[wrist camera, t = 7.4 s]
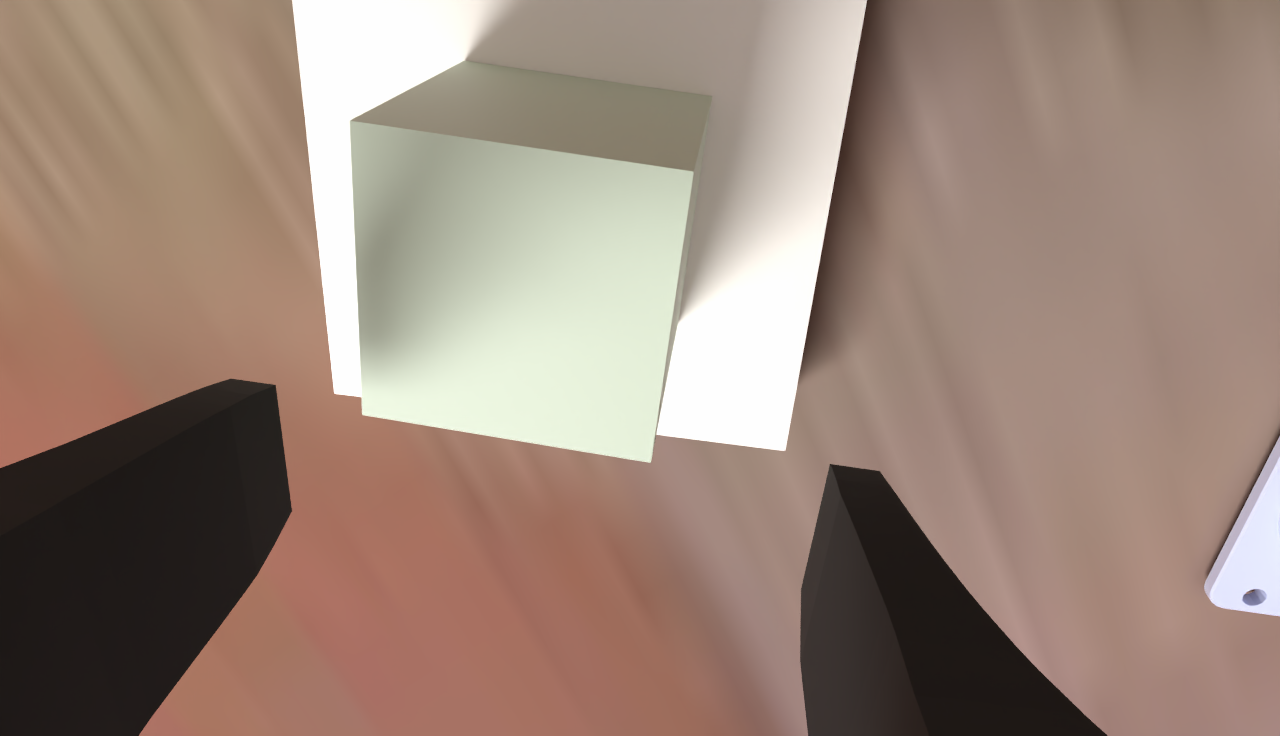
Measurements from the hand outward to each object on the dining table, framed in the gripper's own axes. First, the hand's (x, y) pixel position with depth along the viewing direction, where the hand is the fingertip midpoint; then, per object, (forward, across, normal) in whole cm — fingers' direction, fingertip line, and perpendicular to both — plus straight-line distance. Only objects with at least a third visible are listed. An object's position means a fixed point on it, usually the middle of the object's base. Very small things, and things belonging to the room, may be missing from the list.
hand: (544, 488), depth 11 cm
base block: (+10, +1, -2) cm, 10 cm away
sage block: (+7, +1, -2) cm, 7 cm away
